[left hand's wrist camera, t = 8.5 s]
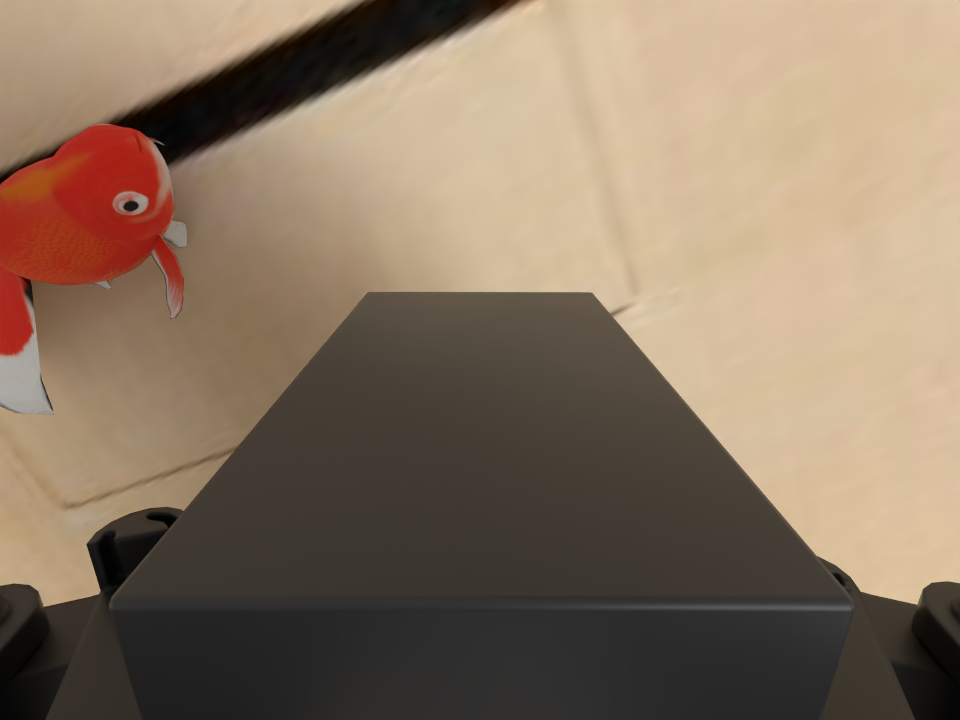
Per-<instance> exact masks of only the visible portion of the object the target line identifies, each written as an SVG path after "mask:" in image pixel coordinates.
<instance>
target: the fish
mask: <svg viewBox="0 0 960 720" xmlns="http://www.w3.org/2000/svg"><path fill="white" fill-rule="evenodd" d="M154 142H157V143H159V144H161V145H164V144H162V143H161V142H159V141H157V140H155V139H153V138H149V137H146V136H145V135H144V134H142V133H141V132H140V131H137V130H134V129H131V128H125V127H120V126H115V125H111V124H105V123H101V124H95V125H92V126H90V127H88V128H87V129H85V130H84V131H83V132H82V133H80V134H79V135H77V136H75V137H73V138H71V139H70V140H68V141H67V142H66V143H65V144H64V145H63V146H62V147H61V148H60V149H59V150H58V151H57V152H56V154H55V155H54V156H53V157H51V158H47V159H44V160H41V161H39V162H36V163H34V164H32V165H30V166H28V167H25V168H23V169H21V170H19V171H17V172H16V173H14V174H13V175H12V176H10V177H9V178H8V179H6V180H5V181H4V182H3V183H2V184H1V185H0V406H1V407H3V408H6V409H8V410H11V411H13V412H15V413H30V414H54V413H53V408H52V405H51V403H50V400H49V398H48V395H47V392H46V390H45V387H44V385H43V382H42V379H41V370H40V361H39V351H38V342H37V333H36V324H35V315H34V305H33V295H32V286H31V281H30V280H34V281H39V282H45V283H51V284H57V285H77V284H89V283H94V284H96V285H98V286H101V287H103V288H105V289H111V287H110V286H109V284H108V282H107V280H110V279H113V278H115V277H117V276H120V275H122V274H124V273H126V272H129V271H131V270H133V269H134V268H136V267H137V266H139V265H140V264H141V263H142V262H143V261H144V260H145V259H146V258H147V257H149V256H150V255H152V257H153V258H154V260H155V262H156V263H157V265H158V266H159V268H160V269H161V271H162V272H163V274H164V276H165V281H166V297H167V304H168V307H169V310H170V313H171V315H170V319H171V318H175V317H177V315H178V314H179V313H180V311H181V309H182V304H183V289H184V277H183V274H182V272H181V269H180V266H179V263H178V260H177V257H176V255H175V254H174V252H173V251H172V249H171V248H170V246H169V245H168V244H167V242H166V241H165V239H166V240H168V241H169V242H171V243H172V244H174V245H176V246H177V247H184V246H186V245H187V230H186V226H185V224H184V223H182V222H178V221H172V218H173V211H174V208H175V206H174V196H173V188H172V182H171V177H170V173H169V170H168V167H167V165H166V163H165V160H164V159H163V157H162V155H161V153H160V152H159V150H158V148H157V147H156V145H155V144H154ZM164 146H166V145H164Z"/></svg>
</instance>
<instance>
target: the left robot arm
mask: <svg viewBox="0 0 960 720" xmlns="http://www.w3.org/2000/svg"><path fill="white" fill-rule="evenodd" d="M183 512H184V511H182V510H181V509H175V508H170V507H161V508H149V509H145V510H141V511H138V512H134V513H130V514H128V515H126V516H123V517H121V518H119V519H117V520H115V521H112V522H111V523H109V524H108V525H106V526H105V527H103V528H102V529H101V530H99V531H98V532H96V533H95V535H94V536H93V537H92V538H91V539H90V541H89V542H88V543H87V547H88V551H89V554H90V557H91V560H92V564H93V567H94V570H95V573H96V576H97V580H98V583H99V586H100V589H101V591H100V593H99V594H98V595H95V596H91V597H87V598H83V599H78V600H74V601H69V602H65V603H60V604H56V605H51V606H47V607H44V606H43V603H42V601H41V598H40V595H39V592H38V591H37V590H36V589H34V588H33V587H31V586H30V585H23V584H9V585H3V586H0V720H142V718H141V715H140V712H139V708H138V705H137V702H136V699H135V695H134V692H133V689H132V685H131V682H130V679H129V675H128V672H127V669H126V666H125V662H124V659H123V656H122V652H121V649H120V646H119V642H118V639H117V636H116V633H115V629H114V626H113V623H112V619H111V616H110V613H109V603H110V600H111V597H112V596H113V595H114V594H115V592H116V591H117V590H118V589H119V588H120V587H121V585H122V584H123V583H124V582H125V581H126V579H127V578H128V577H129V576H130V575H131V573H132V572H133V571H134V570H135V569H136V567H137V566H138V565H139V564H140V563H141V562H142V560H143V559H144V558H145V557H146V556H147V554H148V553H149V552H150V551H151V550H152V548H153V547H154V546H155V545H156V544H157V543H158V541H159V540H160V539H161V538H162V537H163V535H164V534H165V533H166V532H167V531H168V529H169V528H170V527H171V526H172V525H173V523H174V522H175V521H176V520H177V519H178V518H179V516H180V515H181V514H182V513H183ZM817 557H818V556H817ZM818 558H819V559H820V561H821V562H822V563H823V564H824V565H825V567H826V568H827V569H828V570H829V571H830V572H831V574H832V575H833V576H834V577H835V578H836V579H837V581H838V582H839V583H840V584H841V585H842V586H843V588H844V589H845V590H846V591H847V592H848V594H849V595H850V596H851V597H852V599H853V602H854V606H855V611H854V614H853V618H852V621H851V624H850V627H849V630H848V634H847V637H846V640H845V643H844V647H843V650H842V653H841V656H840V659H839V663H838V666H837V669H836V672H835V675H834V679H833V682H832V685H831V688H830V691H829V695H828V698H827V701H826V704H825V707H824V711H823V714H822V717H821V720H960V583H954V582H948V581H947V582H936V583H931V584H930V585H928V586H927V587H925V588H924V589H923V591H922V594H921V596H920V599H919V602H918V605H915V604H911V603H906V602H902V601H897V600H893V599H888V598H884V597H879V596H874V595H870V594H867V593H863V592H860V590H859V589H858V587H857V586H856V584H855V583H854V582H853V580H852V579H851V577H850V576H848V575H847V574H846V573H845V572H843V571H842V570H841V569H839V568H838V567H837V566H836V565H834V564H832V563H830V562H828V561H826V560H824V559H822V558H820V557H818Z"/></svg>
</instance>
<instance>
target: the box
mask: <svg viewBox="0 0 960 720" xmlns="http://www.w3.org/2000/svg"><path fill="white" fill-rule="evenodd" d="M854 611H855V606H854V602H853V599H852V597H851V596H850V595H849V594H848V592H847V591H846V590H845V589H844V588H843V586H842V585H841V584H840V583H839V582H838V581H837V579H836V578H835V577H834V576H833V575H832V574H831V572H830V571H829V570H828V569H827V568H826V567H825V565H824V564H823V563H822V562H821V561H820V559H819V558H818V557H817V556H816V555H815V554H814V552H813V551H812V550H811V549H810V548H809V547H808V545H807V544H806V543H805V542H804V541H803V540H802V538H801V537H800V536H799V535H798V534H797V533H796V531H795V530H794V529H793V528H792V527H791V525H790V524H789V523H788V522H787V521H786V520H785V518H784V517H783V516H782V515H781V514H780V513H779V511H778V510H777V509H776V508H775V507H774V506H773V504H772V503H771V502H770V501H769V500H768V498H767V497H766V496H765V495H764V494H763V493H762V491H761V490H760V489H759V488H758V487H757V486H756V484H755V483H754V482H753V481H752V480H751V479H750V477H749V476H748V475H747V474H746V473H745V472H744V470H743V469H742V468H741V467H740V466H739V464H738V463H737V462H736V461H735V460H734V459H733V457H732V456H731V455H730V454H729V453H728V452H727V450H726V449H725V448H724V447H723V446H722V445H721V443H720V442H719V441H718V440H717V439H716V437H715V436H714V435H713V434H712V433H711V432H710V430H709V429H708V428H707V427H706V426H705V425H704V423H703V422H702V421H701V420H700V419H699V418H698V416H697V415H696V414H695V413H694V412H693V411H692V409H691V408H690V407H689V406H688V405H687V403H686V402H685V401H684V400H683V399H682V398H681V396H680V395H679V394H678V393H677V392H676V391H675V389H674V388H673V387H672V386H671V385H670V384H669V382H668V381H667V380H666V379H665V378H664V377H663V375H662V374H661V373H660V372H659V371H658V369H657V368H656V367H655V366H654V365H653V364H652V362H651V361H650V360H649V359H648V358H647V357H646V355H645V354H644V353H643V352H642V351H641V350H640V348H639V347H638V346H637V345H636V344H635V342H634V341H633V340H632V339H631V338H630V337H629V335H628V334H627V333H626V332H625V331H624V330H623V328H622V327H621V326H620V325H619V324H618V323H617V321H616V320H615V319H614V318H613V317H612V316H611V314H610V313H609V312H608V311H607V310H606V308H605V307H604V306H603V305H602V304H601V303H600V301H599V300H598V299H597V298H596V297H595V296H594V294H593V293H582V292H369V293H367V294H366V295H365V296H364V298H363V299H362V300H361V301H360V302H359V303H358V305H357V306H356V307H355V308H354V309H353V311H352V312H351V313H350V314H349V315H348V317H347V318H346V319H345V320H344V321H343V323H342V324H341V325H340V326H339V327H338V328H337V330H336V331H335V332H334V333H333V334H332V336H331V337H330V338H329V339H328V340H327V342H326V343H325V344H324V345H323V346H322V347H321V349H320V350H319V351H318V352H317V353H316V355H315V356H314V357H313V358H312V359H311V361H310V362H309V363H308V364H307V365H306V367H305V368H304V369H303V370H302V371H301V372H300V374H299V375H298V376H297V377H296V378H295V380H294V381H293V382H292V383H291V384H290V386H289V387H288V388H287V389H286V390H285V391H284V393H283V394H282V395H281V396H280V397H279V399H278V400H277V401H276V402H275V403H274V405H273V406H272V407H271V408H270V409H269V411H268V412H267V413H266V414H265V415H264V416H263V418H262V419H261V420H260V421H259V422H258V424H257V425H256V426H255V427H254V428H253V430H252V431H251V432H250V433H249V434H248V435H247V437H246V438H245V439H244V440H243V441H242V443H241V444H240V445H239V446H238V447H237V449H236V450H235V451H234V452H233V453H232V455H231V456H230V457H229V458H228V459H227V460H226V462H225V463H224V464H223V465H222V466H221V468H220V469H219V470H218V471H217V472H216V474H215V475H214V476H213V477H212V478H211V479H210V481H209V482H208V483H207V484H206V485H205V487H204V488H203V489H202V490H201V491H200V493H199V494H198V495H197V496H196V497H195V499H194V500H193V501H192V502H191V503H190V504H189V506H188V507H187V508H186V509H185V510H184V512H183V513H182V514H181V515H180V516H179V518H178V519H177V520H176V521H175V522H174V523H173V525H172V526H171V527H170V528H169V529H168V531H167V532H166V533H165V534H164V535H163V537H162V538H161V539H160V540H159V541H158V543H157V544H156V545H155V546H154V547H153V548H152V550H151V551H150V552H149V553H148V554H147V556H146V557H145V558H144V559H143V560H142V562H141V563H140V564H139V565H138V566H137V567H136V569H135V570H134V571H133V572H132V573H131V575H130V576H129V577H128V578H127V579H126V581H125V582H124V583H123V584H122V585H121V587H120V588H119V589H118V590H117V591H116V592H115V594H114V595H113V596H112V597H111V600H110V603H109V613H110V616H111V619H112V623H113V626H114V629H115V633H116V636H117V639H118V642H119V646H120V649H121V652H122V656H123V659H124V662H125V666H126V669H127V672H128V675H129V679H130V682H131V685H132V689H133V692H134V695H135V699H136V702H137V705H138V708H139V712H140V715H141V718H142V720H821V717H822V714H823V711H824V707H825V704H826V701H827V698H828V695H829V691H830V688H831V685H832V682H833V679H834V675H835V672H836V669H837V666H838V663H839V659H840V656H841V653H842V650H843V647H844V643H845V640H846V637H847V634H848V630H849V627H850V624H851V621H852V618H853V614H854Z"/></svg>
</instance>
